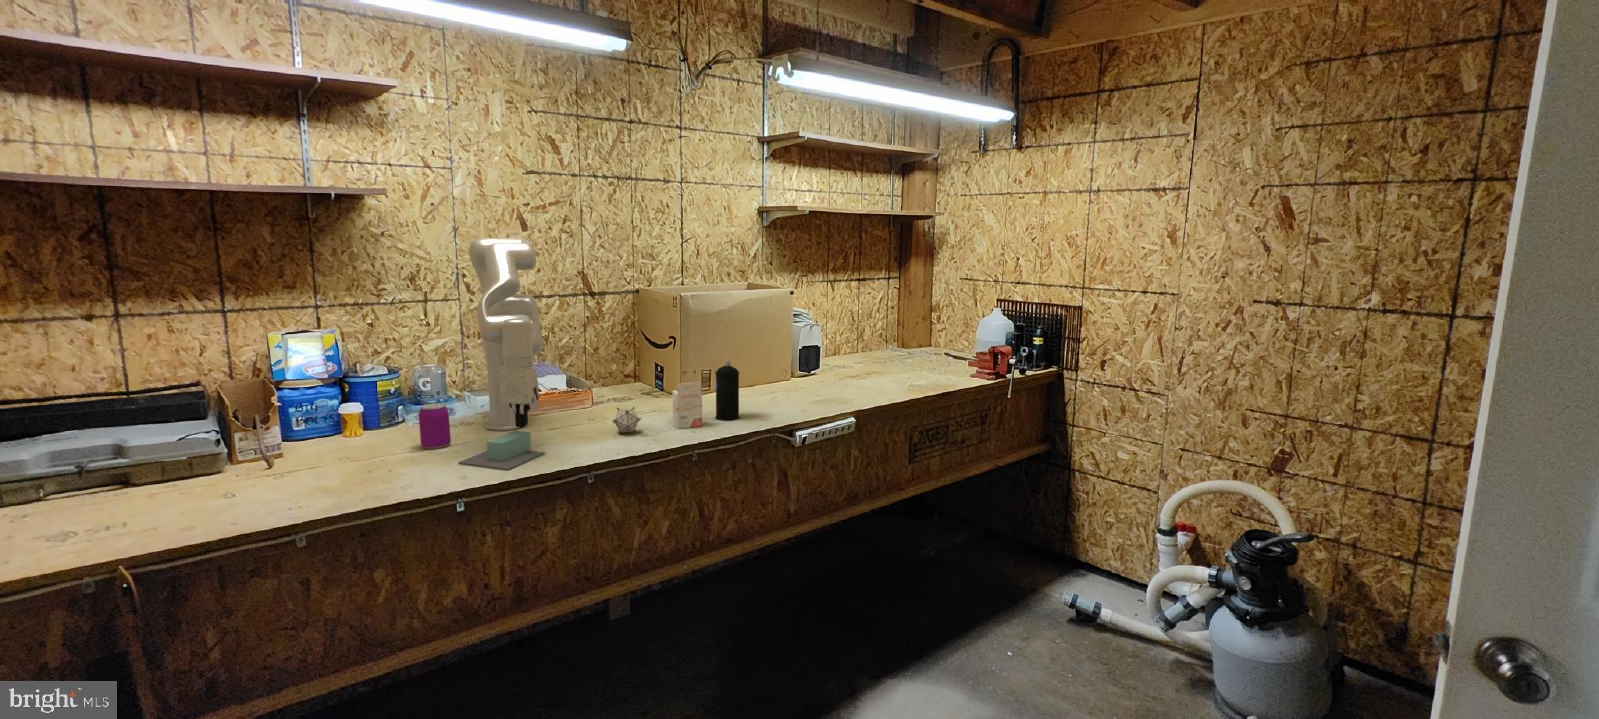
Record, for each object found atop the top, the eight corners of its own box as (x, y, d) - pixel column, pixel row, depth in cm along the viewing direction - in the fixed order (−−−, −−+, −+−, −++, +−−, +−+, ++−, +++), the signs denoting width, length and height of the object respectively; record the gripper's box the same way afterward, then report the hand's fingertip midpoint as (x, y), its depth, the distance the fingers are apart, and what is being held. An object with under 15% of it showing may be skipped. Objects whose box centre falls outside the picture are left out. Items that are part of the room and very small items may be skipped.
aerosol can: (744, 417, 243) (744, 359, 240) (729, 422, 236) (729, 363, 233) (725, 413, 248) (725, 357, 244) (710, 418, 241) (709, 360, 237)
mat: (458, 463, 190) (458, 462, 190) (497, 448, 204) (497, 446, 204) (508, 470, 186) (508, 468, 185) (544, 454, 200) (544, 452, 200)
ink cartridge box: (697, 422, 235) (697, 379, 233) (702, 426, 231) (702, 381, 228) (672, 425, 231) (671, 381, 229) (677, 429, 227) (676, 384, 225)
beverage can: (445, 440, 211) (442, 401, 209) (454, 446, 206) (452, 405, 204) (417, 445, 206) (414, 405, 204) (426, 451, 200) (423, 410, 198)
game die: (630, 445, 221) (631, 425, 214) (606, 434, 222) (606, 414, 215) (645, 426, 228) (646, 406, 221) (621, 415, 229) (622, 395, 222)
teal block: (517, 447, 204) (487, 459, 193) (516, 430, 203) (486, 441, 192) (531, 448, 203) (502, 461, 191) (531, 431, 202) (501, 443, 190)
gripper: (486, 363, 197) (490, 427, 200) (532, 366, 193) (535, 432, 196) (505, 358, 204) (508, 420, 207) (549, 362, 200) (552, 425, 203)
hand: (521, 426), depth 202 cm, fingers closed
